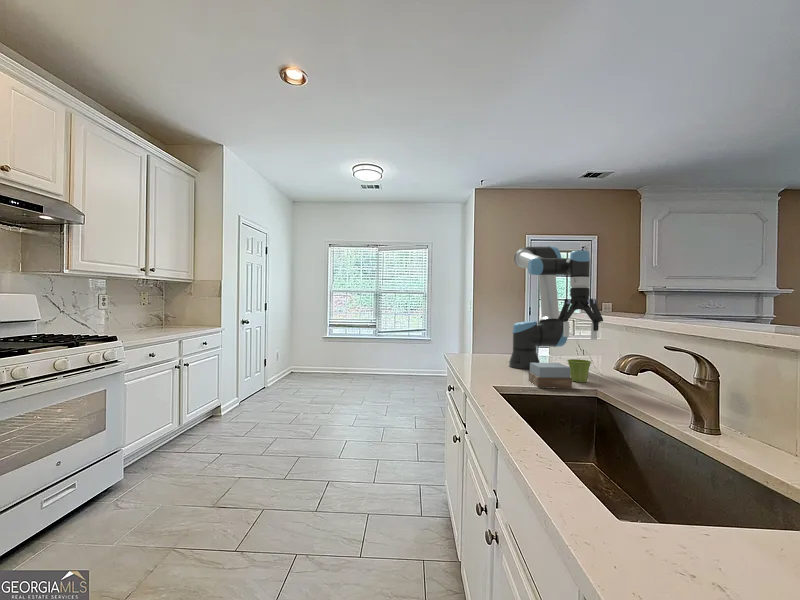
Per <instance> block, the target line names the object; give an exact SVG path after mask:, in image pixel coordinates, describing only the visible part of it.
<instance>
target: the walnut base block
mask: <svg viewBox="0 0 800 600" xmlns="http://www.w3.org/2000/svg"><path fill="white" fill-rule="evenodd" d="M529 381H530V382H531V383H530V382H529ZM528 382H529V383H530V384H532V383H533V384H534V385H533V384H532V385H533V386H535V385H536V386H537V387H536V386H535V387H536V388H538V387H555V388H554V389H573V383H572V382H573V381H572V378H571V376H570V378H540V377H538V376H536V375H534V374H532V373H530V371H528Z"/></svg>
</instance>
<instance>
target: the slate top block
mask: <svg viewBox="0 0 800 600" xmlns="http://www.w3.org/2000/svg"><path fill="white" fill-rule="evenodd" d="M529 372H530V373H532V374H534V375H536V376H538V377H540V378H570V377H571V375H570V367H569V366H567V365H565V364H562V363H559V362H540V363H530V369H529Z"/></svg>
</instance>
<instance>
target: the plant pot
mask: <svg viewBox="0 0 800 600" xmlns="http://www.w3.org/2000/svg"><path fill="white" fill-rule="evenodd" d="M567 363H568V365H569V366H568V367H570V377H571V378H572V382H575V383H582V382H583V383H587V381H588V377H589V372H590V371H589V370H590V366H591V364H592V361H591V360H586V359H580V358H579V359H578V358H577V359H575V358H571V359H567Z"/></svg>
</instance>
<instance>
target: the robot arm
mask: <svg viewBox="0 0 800 600" xmlns="http://www.w3.org/2000/svg"><path fill="white" fill-rule="evenodd" d="M590 256H591V255H590V251H589V250H582V249H581V250H573V251H571V252H570V256H569V258H568V257H566V258H564V257H562V254H561V252H560V250H559V248H557V246H524V247H522V248H520V249H518V250H517V251H516V252H515V254H514V255H513V261H514V263H515V265H516V266H518V267H519V268H521V269H526V270H527V272H528V273H529V275H531V276H533V275H534V276H538V284H539V285H538V286H539V297H540V298H539V299H540V300H539V301H540V308H541V309H540V311H541V313H540V314H541V318H540V319H539V320H538V321H536V320H530V321H529V320H526V321H520V322H519V321H518V322H516V323H514V324H513V327H512V353H511V356H510V359H509V362H508V367H510V368H514V369H522V370H530V363H541V362H540V359H539V356H538V353H537V347H542V348H544V347H547V348H548V347H550V348H551V347H554V348H556V347H564V345H566V343H567V341H568V338H569V337H570V321H569V320H570V318H571V317H572V315H573V314H574V313H575V311H577V310H583V311H584V312H585V314H586V315H587V316H588V318H589V319H590V321H591V323H590V340H597V339H598V332H599V323H601V322H603V321H604V319H603V316H602V314H601V311H600V309H599V307H598V305H597V299H596V298H589V297H590V291H591V290H590V288H589V287H590V284H591V282H590V280H591V279H590V271H591V269H590V268H591V265H590V264H591V263H590V261H591V259H590V258H591V257H590ZM557 276H565V277H566V276H567V277H569V278H570V279H569V280H570V281H569V283H570V285H569V286H570V289H569V290H570V291H569V296H570V298H565V299H564V300H563V301H564V302H563V305H562V308H561V311H559V309H560V308H559V298H558V287H557Z"/></svg>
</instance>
